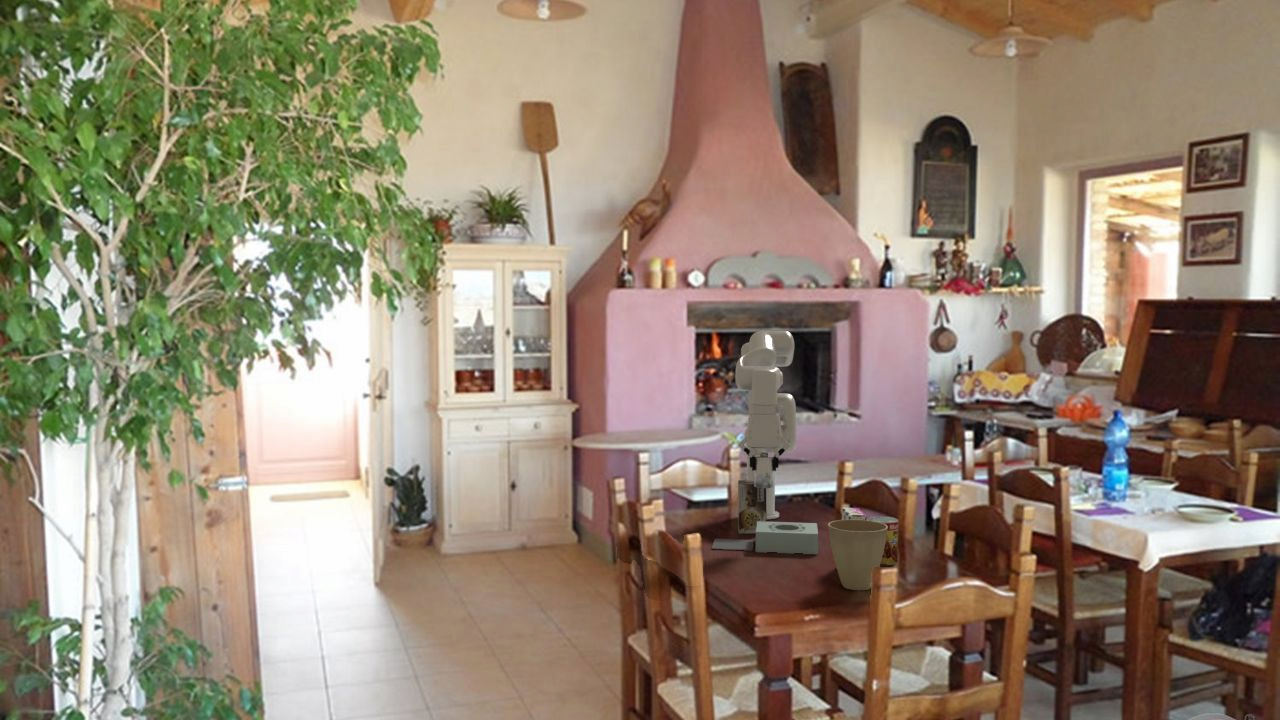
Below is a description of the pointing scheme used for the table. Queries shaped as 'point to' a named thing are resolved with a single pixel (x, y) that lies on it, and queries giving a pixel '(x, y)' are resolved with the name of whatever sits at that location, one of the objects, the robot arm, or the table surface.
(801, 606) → the table surface
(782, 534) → the block
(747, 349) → the robot arm
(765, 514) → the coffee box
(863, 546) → the plant pot
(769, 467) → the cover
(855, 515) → the candy bar box
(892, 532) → the canned food
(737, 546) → the mat
